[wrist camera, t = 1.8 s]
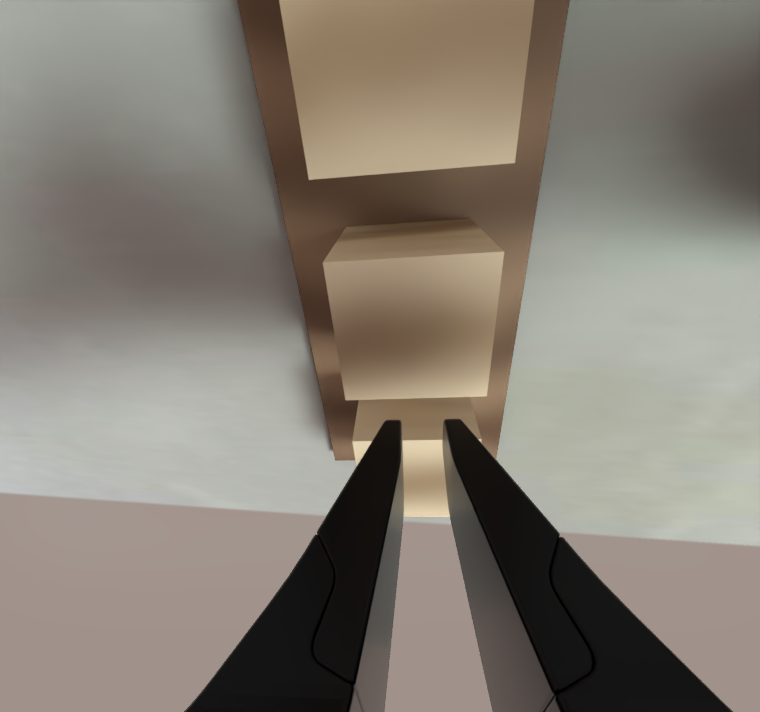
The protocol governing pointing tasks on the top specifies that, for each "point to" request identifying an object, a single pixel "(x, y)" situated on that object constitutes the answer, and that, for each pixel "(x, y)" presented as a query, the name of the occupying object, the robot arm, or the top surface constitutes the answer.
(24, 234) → the top surface
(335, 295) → the plain block
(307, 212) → the walnut mat
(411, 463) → the block four
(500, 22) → the block seven
